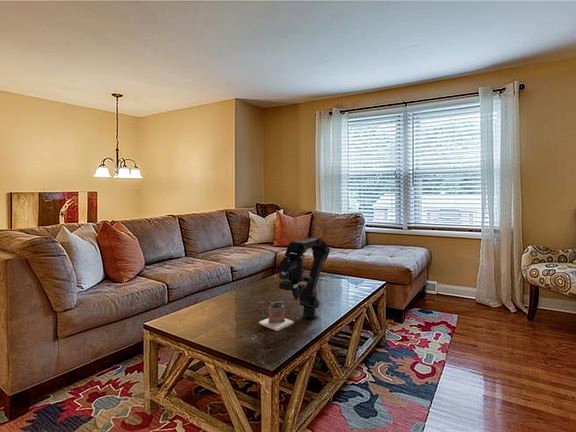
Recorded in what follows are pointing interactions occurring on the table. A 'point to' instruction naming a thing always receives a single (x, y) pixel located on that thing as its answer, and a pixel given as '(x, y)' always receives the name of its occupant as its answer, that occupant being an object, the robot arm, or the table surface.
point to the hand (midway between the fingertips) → (296, 300)
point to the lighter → (276, 312)
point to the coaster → (276, 324)
